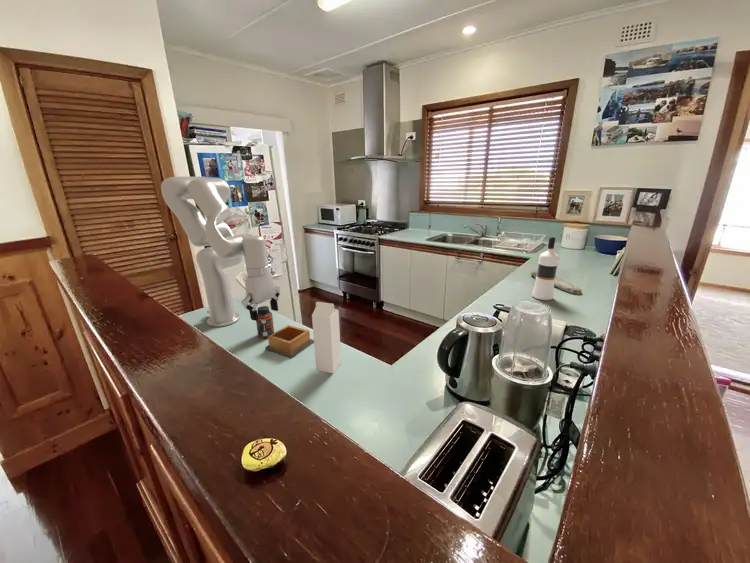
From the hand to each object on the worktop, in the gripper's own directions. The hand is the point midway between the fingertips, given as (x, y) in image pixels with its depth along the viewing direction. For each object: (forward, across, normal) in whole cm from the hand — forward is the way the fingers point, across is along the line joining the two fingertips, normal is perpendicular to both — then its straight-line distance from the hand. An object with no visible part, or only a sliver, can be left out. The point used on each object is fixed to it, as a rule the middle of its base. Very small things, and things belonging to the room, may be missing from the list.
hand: (265, 315), depth 116 cm
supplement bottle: (+9, 0, -1) cm, 9 cm away
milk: (+10, +6, +33) cm, 35 cm away
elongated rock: (+12, -117, +96) cm, 152 cm away
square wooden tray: (+9, +2, +13) cm, 16 cm away
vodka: (+12, -91, +91) cm, 129 cm away
